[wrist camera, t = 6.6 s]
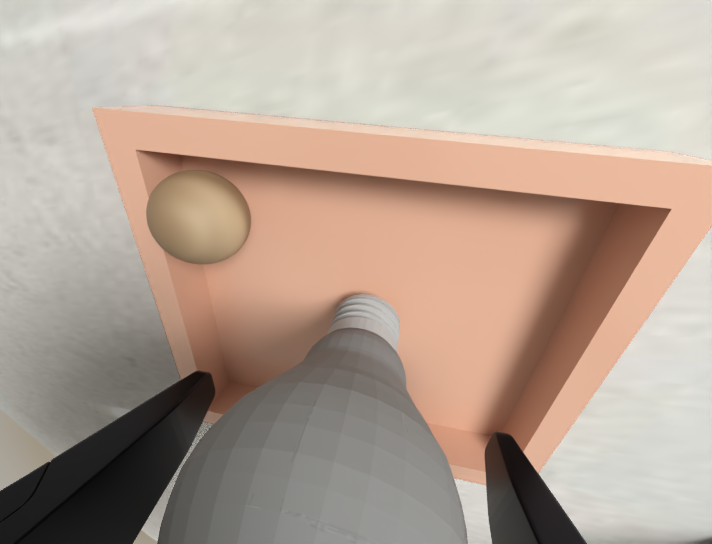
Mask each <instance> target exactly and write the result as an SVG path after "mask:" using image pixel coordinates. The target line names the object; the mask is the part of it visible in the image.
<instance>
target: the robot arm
mask: <svg viewBox="0 0 712 544" xmlns="http://www.w3.org/2000/svg"><path fill="white" fill-rule="evenodd" d="M215 391H216V390H215V385H214V381H213V377H212V374H211V373H210V372H206V371H201V370H198V371H195V372H193V373H191V374H190V375H188V376H186V377H185V378H183V379H182V380H180V381H178V382H177V383H175V384H173V385H172V386H170V387H169V388H167V389H165V390H164V391H162V392H161V393H159V394H157V395H156V396H154V397H152V398H151V399H149V400H148V401H146V402H144V403H143V404H141V405H139V406H138V407H136V408H135V409H133V410H131V411H130V412H128V413H127V414H125V415H123V416H122V417H120V418H118V419H117V420H115V421H114V422H112V423H110V424H109V425H107V426H105V427H104V428H102V429H101V430H99V431H97V432H96V433H94V434H93V435H91V436H89V437H88V438H86V439H84V440H83V441H81V442H80V443H78V444H76V445H75V446H73V447H72V448H70V449H68V450H67V451H65V452H63V453H62V454H60V455H59V456H57V457H55V458H54V459H52V460H51V462H47V463H45V464H44V465H42V466H41V467H39V468H37V469H36V470H34V471H32V472H31V473H29V474H28V475H26V476H24V477H23V478H21V479H19V480H18V481H16V482H14V483H13V484H11V485H9V486H8V487H6V488H4V489H3V490H1V491H0V544H133V542H134V540H135V539H136V537H137V535H138V534H139V532H140V530H141V529H142V527H143V525H144V524H145V522H146V520H147V519H148V517H149V515H150V514H151V512H152V510H153V509H154V507H155V505H156V504H157V502H158V500H159V499H160V497H161V496H162V494H163V492H164V491H165V489H166V487H167V486H168V484H169V482H170V481H171V479H172V477H173V476H174V474H175V472H176V471H177V469H178V467H179V466H180V464H181V462H182V461H183V459H184V457H185V455H186V454H187V452H188V450H189V449H190V447H191V445H192V443H193V441H194V439H195V437H196V435H197V432H198V430H199V428H200V426H201V424H202V422H203V420H204V418H205V416H206V414H207V412H208V410H209V407H210V405H211V403H212V401H213V399H214V397H215ZM484 456H485V472H486V487H487V503H488V516H489V525H490V532H491V538H492V544H587V543H586V542H585V540H584V539H583V537H582V536H581V534H580V533H579V531H578V530H577V529H576V527H575V526H574V524H573V523H572V521H571V520H570V518H569V517H568V516H567V514H566V513H565V511H564V510H563V508H562V507H561V506H560V504H559V503H558V501H557V500H556V498H555V497H554V495H553V494H552V493H551V491H550V490H549V488H548V487H547V485H546V484H545V483H544V481H543V480H542V478H541V477H540V475H539V474H538V472H537V471H536V470H535V468H534V467H533V465H532V464H531V462H530V461H529V459H528V458H527V457H526V455H525V454H524V452H523V451H522V449H521V448H520V447H519V445H518V444H517V442H516V441H515V439H514V438H513V437H512V436H511V435H510V434H508V433H504V432H499V431H495V432H493V434H492V435H491V437H490V439H489V441H488V443H487V446H486V448H485V455H484Z"/></svg>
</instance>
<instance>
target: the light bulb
mask: <svg viewBox="0 0 712 544" xmlns="http://www.w3.org/2000/svg"><path fill="white" fill-rule="evenodd" d="M399 332H400V320H399V316H398V314H397V312H396V311H395V309H394V308H393V307H392V306H391V305H390V304H389V303H388V302H386V301H385V300H383V299H381V298H379V297H376V296H373V295H368V294H358V295H353V296H350V297H348V298H346V299H345V300H343V301H342V302H341V303H340V305H339V306H338V308H337V310H336V313H335V316H334V318H333V321H332V323H331V325H330V329H329V330H328V333H327V335H326V336H324V337H322V338H321V339H320V340H319V341H318V342H317V343H316V344H315V345H313V346H312V348H311V349H310V351H309V352H308V354H307V355H306V357H305V359H304V360H303V361H302V362H301V363H299V364H298V365H296V366H294V367H293V368H291V369H290V370H288V371H287V372H284V373H282V374H280V375H279V376H277V377H275V378H273V379H271V380H269V381H268V382H266V383H265V384H263V385H262V386H260V387H258V388H256V389H255V390H253V391H251V392H250V393H248V394H246V395H244V396H243V397H242V398H241V399H240V400H238V401H237V402H236V403H235V404H234V405H233V406H232V407H231V408H230V409H229V410H228V411H227V412H226V413H225V414H224V415H223V416H222V417H221V418H220V419H219V420H218V421H217V422H216V423H215V424H214V425H213V426H212V427H211V428H210V429H209V430H208V431H207V433H206V434H205V435H204V436H203V438H202V439H201V440H200V441H199V443H198V444H197V445H196V447H195V448H194V450H193V451H192V453H191V454H190V456H189V457H188V459H187V461H186V462H185V464H184V465H183V467H182V468H181V471H180V473H179V475H178V478H177V480H176V483H175V485H174V487H173V490H172V492H171V495H170V498H169V500H168V504H167V507H166V510H165V513H164V517H163V520H162V523H161V527H160V532H159V538H158V543H157V544H468V542H467V532H466V525H465V520H464V515H463V510H462V505H461V501H460V498H459V495H458V491H457V488H456V484H455V481H454V478H453V474H452V471H451V468H450V466H449V463H448V460H447V457H446V455H445V454H444V452H443V450H442V449H441V447H440V445H439V444H438V442H437V440H436V439H435V437H434V435H433V434H432V432H431V430H430V428H429V426H428V424H427V423H426V421H425V420H424V418H423V416H422V415H421V413H420V412H419V410H418V409H417V408H416V406H415V404H414V402H413V400H412V399H411V397H410V395H409V393H408V391H407V389H406V375H405V370H404V367H403V364H402V361H401V359H400V357H399V355H398V354H397V350H398V341H399Z"/></svg>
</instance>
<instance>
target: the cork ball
mask: <svg viewBox="0 0 712 544" xmlns="http://www.w3.org/2000/svg"><path fill="white" fill-rule="evenodd" d="M146 217H147V224H148V227H149V230H150V232H151V234H152V236H153V238H154V239H155V241H156V242H157V243H158V244H159V246H160V247H161V248H162V249H163V250H165V251H166V252H167V253H168V254H170V255H171V256H173V257H175V258H177V259H179V260H182V261H184V262H187V263H192V264H200V265H201V264H213V263H218V262H221V261H223V260H226V259H228V258H230V257H231V256H233V255H234V254H235V253H237V252H238V251H239V250H240V248H241V247H242V246H243V245H244V243H245V241H246V240H247V238H248V235H249V232H250V228H251V214H250V209H249V206H248V204H247V201H246V199H245V198H244V196H243V194H242V193H241V192H240V190H239V189H238V188H237V187H236V186H235V185H234V184H233V183H231V182H230V181H229V180H227V179H226V178H224V177H222V176H220V175H218V174H216V173H213V172H209V171H204V170H185V171H180V172H177V173H174V174H172V175H170V176H168V177H166V178H165V179H164V180H162V181H161V182H160V183H159V184H158V185H157V186H156V187H155V188H154V190H153V191H152V193H151V195H150V197H149V200H148V203H147V208H146Z"/></svg>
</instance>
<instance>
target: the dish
mask: <svg viewBox="0 0 712 544" xmlns="http://www.w3.org/2000/svg"><path fill="white" fill-rule="evenodd" d="M92 109H93V112H94V115H95V118H96V121H97V125H98V128H99V131H100V134H101V137H102V140H103V143H104V146H105V149H106V152H107V155H108V158H109V161H110V164H111V167H112V170H113V173H114V177H115V180H116V183H117V186H118V189H119V192H120V195H121V198H122V201H123V204H124V207H125V210H126V213H127V216H128V219H129V222H130V225H131V229H132V232H133V235H134V238H135V241H136V244H137V247H138V250H139V253H140V256H141V259H142V262H143V265H144V268H145V271H146V274H147V277H148V281H149V284H150V287H151V290H152V293H153V296H154V299H155V302H156V305H157V308H158V311H159V314H160V317H161V320H162V323H163V326H164V329H165V332H166V336H167V339H168V342H169V345H170V348H171V351H172V354H173V357H174V360H175V363H176V366H177V369H178V372H179V375H180V378H181V380H182V379H183V378H185V377H186V376H188V375H190V374H191V373H193V372H195V371H198V370H201V371H206V372H210V373H211V374H212V377H213V381H214V385H215V390H216V391H215V397H214V399H213V401H212V403H211V405H210V407H209V410H208V412H207V414H206V416H205V418H204V420H203V422H207V423H211V424H215V423H216V422H217V421H218V420H219V419H220V418H221V417H222V416H223V415H224V414H225V413H226V412H227V411H228V410H229V409H230V408H231V407H232V406H233V405H234V404H235V403H236V402H237V401H238V400H240V399H241V398H242V397H243V396H244V395H246V394H248V393H250V392H251V391H253V390H255V389H256V388H258V387H260V386H262V385H263V384H265V383H266V382H268V381H269V380H271V379H273V378H275V377H277V376H279V375H280V374H282V373H284V372H287V371H288V370H290V369H291V368H293V367H294V366H296V365H298V364H299V363H301V362H302V361H303V360H304V359H305V357H306V355H307V354H308V352H309V351H310V349H311V348H312V346H313V345H315V344H316V343H317V342H318V341H319V340H320V339H321V338H322V337H324V336H326V335H327V333H328V330H329V329H330V325H331V323H332V321H333V318H334V316H335V313H336V310H337V308H338V306H339V305H340V303H341V302H342V301H343V300H345V299H346V298H348V297H350V296H353V295H358V294H368V295H373V296H376V297H379V298H381V299H383V300H385V301H386V302H388V303H389V304H390V305H391V306H392V307H393V308H394V309H395V311H396V312H397V314H398V316H399V320H400V332H399V341H398V350H397V354H398V355H399V357H400V359H401V361H402V364H403V367H404V370H405V375H406V389H407V391H408V393H409V395H410V397H411V399H412V400H413V402H414V404H415V406H416V408H417V409H418V410H419V412H420V413H421V415H422V416H423V418H424V420H425V421H426V423H427V424H428V426H429V428H430V430H431V432H432V434H433V435H434V437H435V439H436V440H437V442H438V444H439V445H440V447H441V449H442V450H443V452H444V454H445V455H446V457H447V460H448V463H449V466H450V468H451V471H452V474H453V478H456V479H460V480H465V481H469V482H474V483H478V484H482V485H486V472H485V456H484V455H485V448H486V446H487V443H488V441H489V439H490V437H491V435H492V434H493V432H495V431H499V432H504V433H508V434H510V435H511V436H512V437H513V438H514V439H515V441H516V442H517V444H518V445H519V447H520V448H521V449H522V451H523V452H524V454H525V455H526V457H527V458H528V459H529V461H530V462H531V464H532V465H533V467H534V468H535V470H536V471H537V472H538V474H539V472H540V471H541V469H542V468H543V466H544V465H545V464H546V462H547V461H548V459H549V458H550V456H551V455H552V454H553V452H554V451H555V449H556V448H557V446H558V445H559V444H560V442H561V441H562V439H563V438H564V436H565V435H566V434H567V432H568V431H569V429H570V428H571V426H572V425H573V424H574V422H575V421H576V419H577V418H578V416H579V415H580V414H581V412H582V411H583V409H584V408H585V406H586V405H587V404H588V402H589V401H590V399H591V398H592V396H593V395H594V394H595V392H596V391H597V389H598V388H599V386H600V385H601V384H602V382H603V381H604V379H605V378H606V376H607V375H608V374H609V372H610V371H611V369H612V368H613V366H614V365H615V364H616V362H617V361H618V359H619V358H620V356H621V355H622V354H623V352H624V351H625V349H626V348H627V346H628V345H629V344H630V342H631V341H632V339H633V338H634V337H635V335H636V334H637V332H638V331H639V329H640V328H641V327H642V325H643V324H644V322H645V321H646V319H647V318H648V317H649V315H650V314H651V312H652V311H653V309H654V308H655V307H656V305H657V304H658V302H659V301H660V299H661V298H662V297H663V295H664V294H665V292H666V291H667V289H668V288H669V287H670V285H671V284H672V282H673V281H674V279H675V278H676V277H677V275H678V274H679V272H680V271H681V269H682V268H683V267H684V265H685V264H686V262H687V261H688V259H689V258H690V257H691V255H692V254H693V252H694V251H695V249H696V248H697V247H698V245H699V244H700V242H701V241H702V239H703V238H704V237H705V235H706V234H707V232H708V231H709V229H710V228H711V227H712V161H711V160H706V159H702V158H697V157H693V156H688V155H683V154H679V153H674V152H666V151H655V150H644V149H632V148H621V147H610V146H599V145H588V144H577V143H566V142H555V141H544V140H533V139H522V138H511V137H499V136H488V135H477V134H466V133H455V132H444V131H433V130H422V129H411V128H400V127H389V126H377V125H366V124H355V123H344V122H333V121H322V120H311V119H300V118H289V117H278V116H267V115H255V114H244V113H233V112H222V111H211V110H200V109H189V108H178V107H167V106H124V107H92ZM185 170H204V171H209V172H213V173H216V174H218V175H220V176H222V177H224V178H226V179H227V180H229V181H230V182H231V183H233V184H234V185H235V186H236V187H237V188H238V189H239V190H240V192H241V193H242V194H243V196H244V198H245V199H246V201H247V204H248V206H249V209H250V214H251V228H250V232H249V235H248V238H247V240H246V241H245V243H244V245H243V246H242V247H241V248H240V250H239V251H238V252H237V253H235V254H234V255H233V256H231V257H230V258H228V259H226V260H223V261H221V262H218V263H213V264H201V265H200V264H192V263H187V262H184V261H182V260H179V259H177V258H175V257H173V256H171V255H170V254H168V253H167V252H166V251H165V250H163V249H162V248H161V247H160V246H159V244H158V243H157V242H156V241H155V239H154V238H153V236H152V234H151V232H150V230H149V227H148V224H147V217H146V208H147V203H148V200H149V197H150V195H151V193H152V191H153V190H154V188H155V187H156V186H157V185H158V184H159V183H160V182H161V181H162V180H164V179H165V178H166V177H168V176H170V175H172V174H174V173H177V172H180V171H185Z"/></svg>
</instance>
